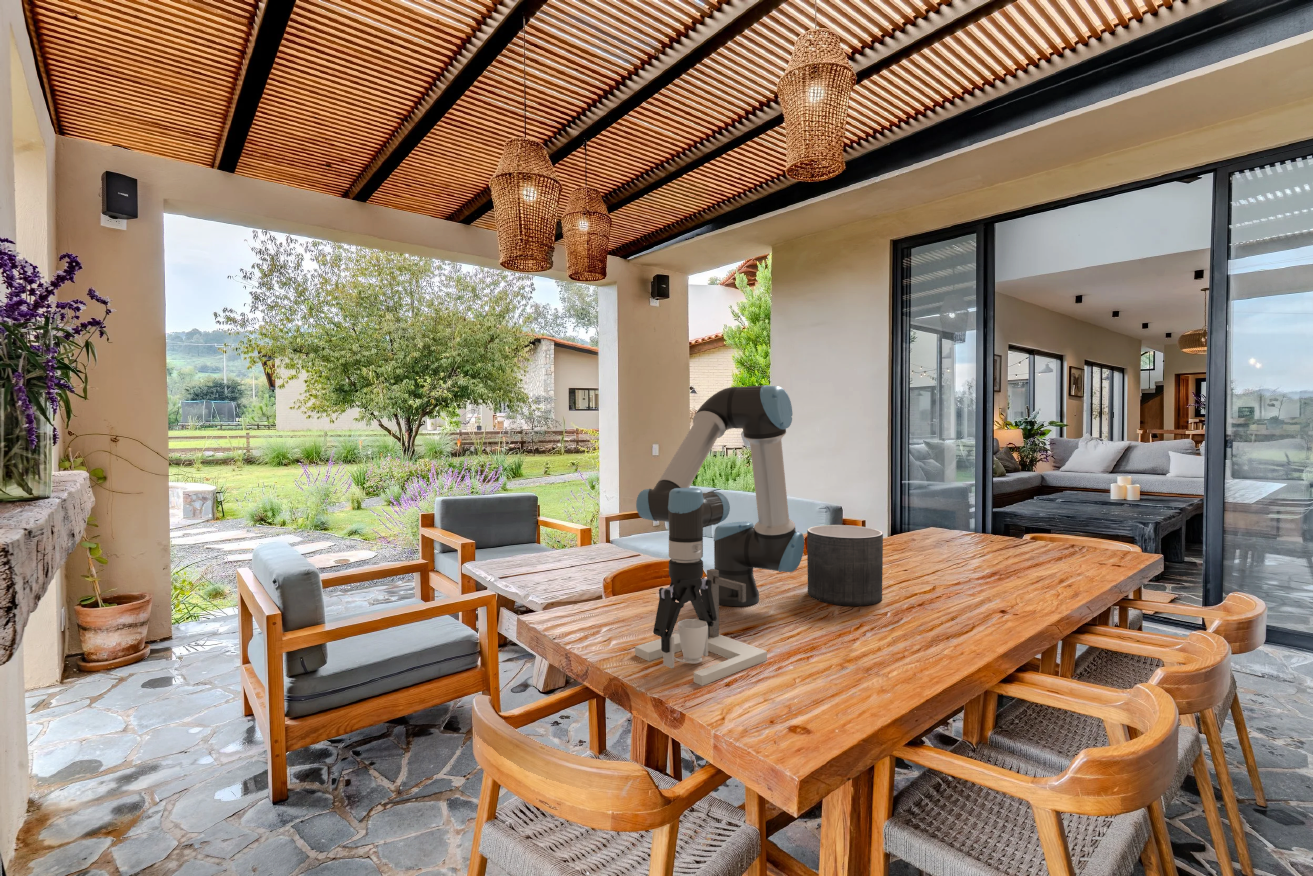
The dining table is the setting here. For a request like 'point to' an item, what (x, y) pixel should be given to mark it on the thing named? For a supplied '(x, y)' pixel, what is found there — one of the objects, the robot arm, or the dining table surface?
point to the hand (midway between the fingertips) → (686, 660)
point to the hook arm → (716, 581)
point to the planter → (845, 564)
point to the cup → (692, 639)
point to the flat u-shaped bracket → (726, 647)
